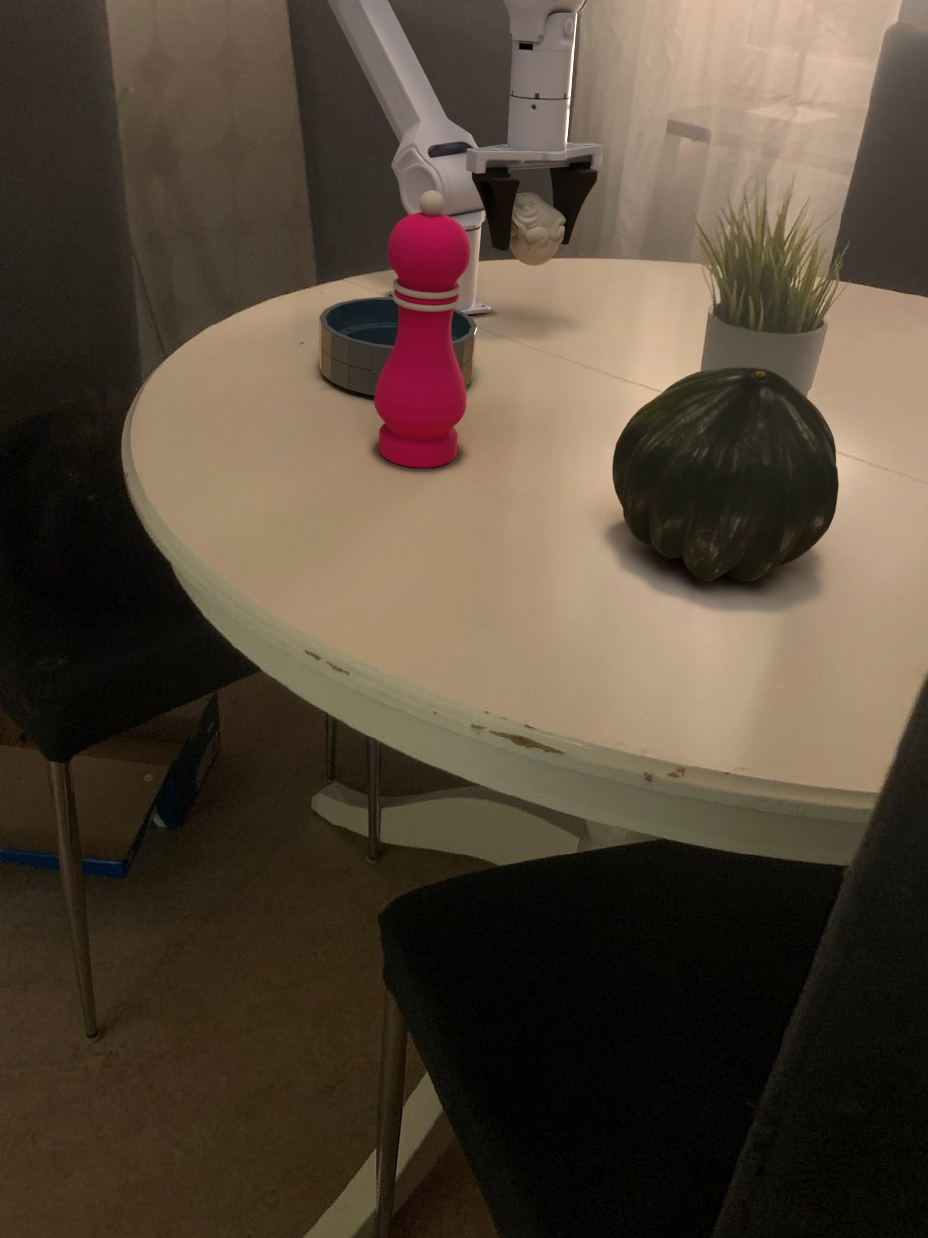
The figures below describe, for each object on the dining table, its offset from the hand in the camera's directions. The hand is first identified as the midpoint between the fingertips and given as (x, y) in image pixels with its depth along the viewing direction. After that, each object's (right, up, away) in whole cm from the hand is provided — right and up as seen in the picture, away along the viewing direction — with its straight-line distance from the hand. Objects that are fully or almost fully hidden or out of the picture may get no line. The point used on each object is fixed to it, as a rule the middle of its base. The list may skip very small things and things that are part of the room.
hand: (530, 245), depth 109 cm
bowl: (-13, -15, -8) cm, 21 cm away
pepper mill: (-10, -24, -22) cm, 34 cm away
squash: (+11, -33, -32) cm, 47 cm away
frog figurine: (0, -2, +1) cm, 2 cm away
